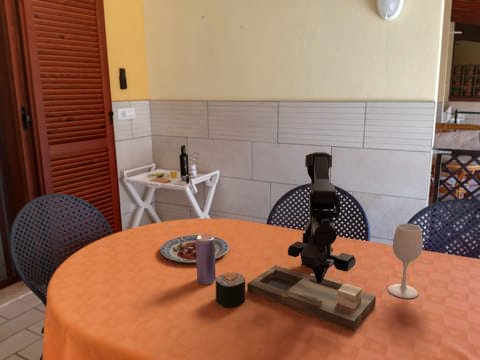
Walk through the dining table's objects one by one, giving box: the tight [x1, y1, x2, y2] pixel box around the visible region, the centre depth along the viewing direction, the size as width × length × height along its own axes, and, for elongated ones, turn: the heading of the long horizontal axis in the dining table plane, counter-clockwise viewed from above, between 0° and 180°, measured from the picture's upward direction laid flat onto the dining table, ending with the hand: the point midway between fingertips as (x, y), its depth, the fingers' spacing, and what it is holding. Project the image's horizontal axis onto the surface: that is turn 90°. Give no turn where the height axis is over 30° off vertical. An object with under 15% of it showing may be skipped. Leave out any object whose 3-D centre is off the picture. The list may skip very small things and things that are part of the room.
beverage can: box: [196, 233, 217, 285], centre depth 133 cm, size 6×6×15 cm
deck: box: [246, 264, 377, 332], centre depth 123 cm, size 16×34×4 cm, turn 53°
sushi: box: [215, 271, 246, 309], centre depth 121 cm, size 8×8×8 cm
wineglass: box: [387, 223, 424, 300], centre depth 125 cm, size 9×9×21 cm
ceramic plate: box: [160, 234, 230, 263], centre depth 157 cm, size 26×26×3 cm
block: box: [337, 283, 363, 309], centre depth 115 cm, size 5×5×4 cm
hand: (319, 282), depth 120 cm, fingers closed
